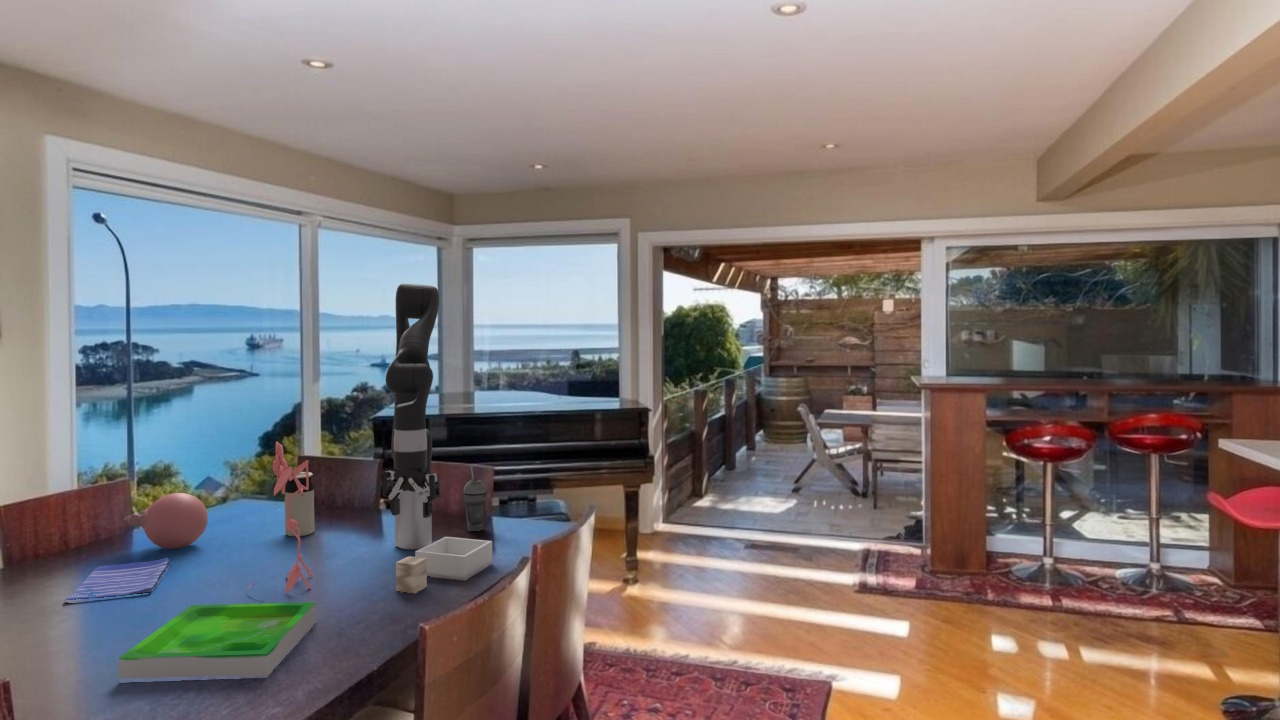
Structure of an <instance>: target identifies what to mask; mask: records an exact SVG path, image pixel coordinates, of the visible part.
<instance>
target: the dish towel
mask: <svg viewBox="0 0 1280 720" xmlns="http://www.w3.org/2000/svg"><path fill="white" fill-rule="evenodd" d="M170 567H172V563H170V560H169V557H164V558H160V559H156V560H151V561H150V560H149V561H143V562H129V563H125V564H121V563H120V564H113V565H111V564H110V565H103V566H98V567H97V566H96V567H95V568H94V569H93V570H92V572H91V573H90V574H89V575H88V576H87V577H86V578H85V579H86V580H85V579H84V580H83V582H81V583H80V585H79V586H77V587H76V589H75V590H74V591H75V592H74V591H73V592H74V593H73V592H72V593H73V594H76V593H77V594H78V593H90V592H95V593H96V592H106V593H100V594H93V595H96V596H93V597H91V596H90V597H87V596H88V594H86V596H85V595H71V594H70V595H71V596H70V595H69V596H68V597H66V599H65V600H73V599H74V600H76V599H89V598H104V597H116V596H125V595H133V594H143V593H150V594H152V593H151V591H152V590H153V589H154V588H155V587H156V586H159V584H160V582H161V581H162V580H161V578H162V577H163V575H164V574H165V572H167V571H168V572H169V570H170V569H171V568H170ZM169 568H170V569H169ZM168 569H169V570H168ZM168 572H167V573H168ZM163 578H164V577H163ZM160 580H161V581H160ZM159 581H160V582H159ZM158 583H159V584H158ZM156 588H157V587H156ZM156 588H155V589H156ZM85 589H86V590H87V589H93V590H94V591H89V592H83V590H85ZM155 589H154V590H155Z"/></svg>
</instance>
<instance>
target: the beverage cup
mask: <svg viewBox="0 0 1280 720" xmlns="http://www.w3.org/2000/svg"><path fill="white" fill-rule="evenodd" d="M470 471H471V472H470V473H471V474H470V475H471V480H469V481H468V482H466V484H465V485H464V487H463V492H462V494H463V499H464V505H465V507H464V508H465V516H466V517H465V518H466V524H467V531H468V530H469V531H468V532H470V531H478V532H481V531H480V530H482V529H483V530H484V523H485V521H484V520H485V508H486V499H487V495H488V494H487V493H488V491H487V487H486V485H485V483H484V481H482V480H481V479H474V472H473V465H472V464H470ZM483 530H482V531H483Z"/></svg>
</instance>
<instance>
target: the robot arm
mask: <svg viewBox="0 0 1280 720" xmlns="http://www.w3.org/2000/svg"><path fill="white" fill-rule="evenodd" d="M438 290H439V289H438V288H437V287H436V286H433V285H429V284H418V283H400V284H399V285H398V286H397V288H396V292H395V327H396V329H395V330H396V333H395V334H396V339H395V340H396V343H395V345H396V346H395V357H394V359H393V361H392V362H391V363H390V365H389V366H388V369H387V370H386V374H385V385H386V387H387V389H388V390H389V391H390V392H391V393H393V394H394V411H393V413H394V414H393V423H392V432H391V433H392V434H391V458H392V459H393V468H394V469H395V470H393V469H390V470H387V471H383V474H382V491H381V495H382V496H383V497H386V498H388V499H389V504H390V505H389V506H390V507H389V510H390V513H391V516H394V547H398V548H399V549H402V550H419V549H421V548H423V547H425V546H427V545H429V544H432V543H433V542H432V540H433V539H432V534H433V533H432V529H433V528H432V525H433V524H432V514H433V502H434V501H435V500H436V499H439V498H441V489H440V486H441V485H440V475H439V473H438V472H435V473H432V455H433V452H432V451H433V438H432V437H433V436H432V433H431V431H430V430H429V429H428V428H426V424H427V422H426V419H427V418H426V417H427V416H426V415H427V414H426V411H427V403H428V399H429V394H430V391H431V388H432V386H433V381H434V372H433V370H432V368H431V364H430V363H429V360H428V359H429V357H428V355H429V347H430V346H429V345H430V340H431V336H432V333H433V330H434V328H435V324H436V320H437V317H438V313H439V307H440V293H439V291H438ZM409 319H411V320H417V321H416V322H414V323H412V325H410V322H409ZM394 480H395V482H396V483H395V485H394Z"/></svg>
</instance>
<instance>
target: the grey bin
mask: <svg viewBox="0 0 1280 720" xmlns="http://www.w3.org/2000/svg"><path fill="white" fill-rule="evenodd" d="M414 557H420V558H427V577H428V576H430V577H429V578H437V579H439V578H440V579H445V580H446V579H447V580H454V579H455V580H456V581H463V582H464V581H467V580H469V579H470V578H472V577H473V576H475V575H477V574H478V573H480V572H482V571H483V570H485V569H486V568H487V567H490V566H491V565H493V540H483V539H472V538H464V537H463V538H462V537H453V536H444V537H442V538H440V539H438V540H435V541H434V542H432V544H429V545H427V546H425V547H423V548H421V549H416V550H415V552H414Z"/></svg>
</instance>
